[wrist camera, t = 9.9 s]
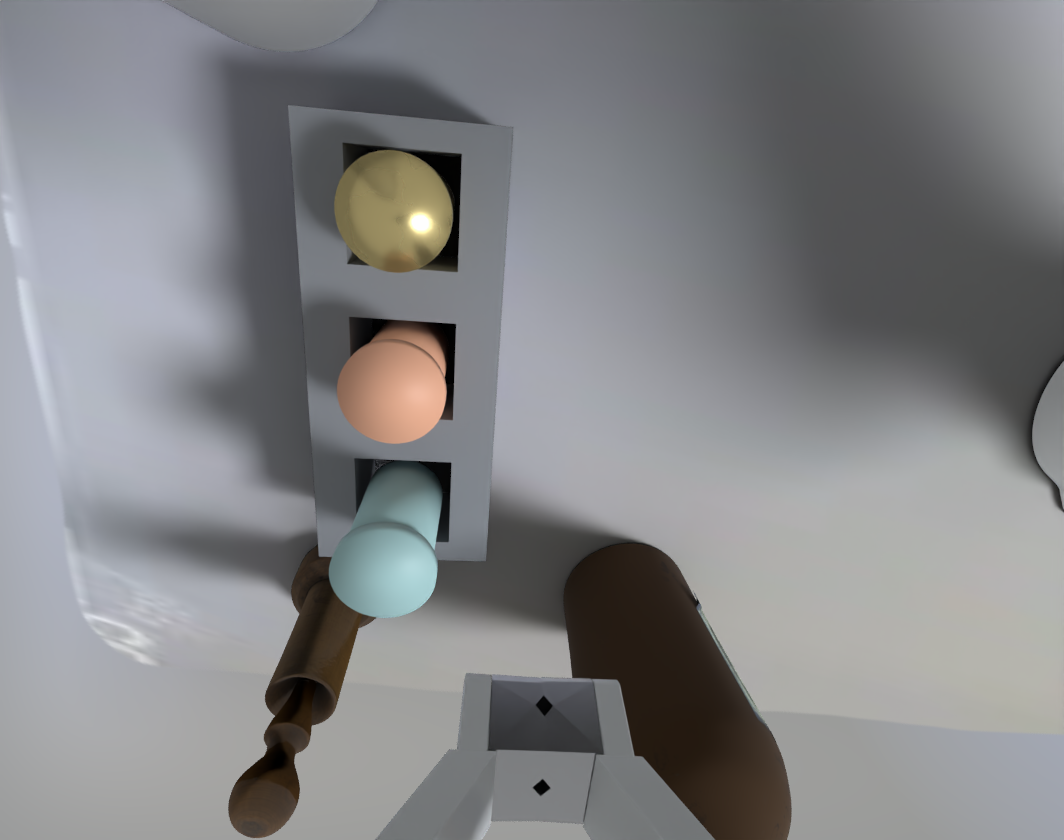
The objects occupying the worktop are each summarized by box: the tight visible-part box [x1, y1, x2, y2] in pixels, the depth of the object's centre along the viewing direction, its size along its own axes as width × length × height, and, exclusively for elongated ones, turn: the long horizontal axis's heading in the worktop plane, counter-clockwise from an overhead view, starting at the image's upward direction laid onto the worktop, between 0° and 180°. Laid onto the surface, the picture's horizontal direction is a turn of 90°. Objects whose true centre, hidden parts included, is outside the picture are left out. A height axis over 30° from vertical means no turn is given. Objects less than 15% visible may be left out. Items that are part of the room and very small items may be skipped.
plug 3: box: [329, 460, 443, 618], centre depth 31 cm, size 5×5×8 cm
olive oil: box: [564, 543, 791, 840], centre depth 33 cm, size 11×11×25 cm
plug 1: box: [334, 150, 455, 273], centre depth 29 cm, size 5×5×8 cm
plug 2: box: [337, 319, 450, 444], centre depth 31 cm, size 5×5×8 cm
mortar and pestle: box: [228, 545, 376, 838], centre depth 34 cm, size 7×6×18 cm
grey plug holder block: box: [288, 105, 513, 561], centre depth 33 cm, size 10×24×6 cm, turn 175°
